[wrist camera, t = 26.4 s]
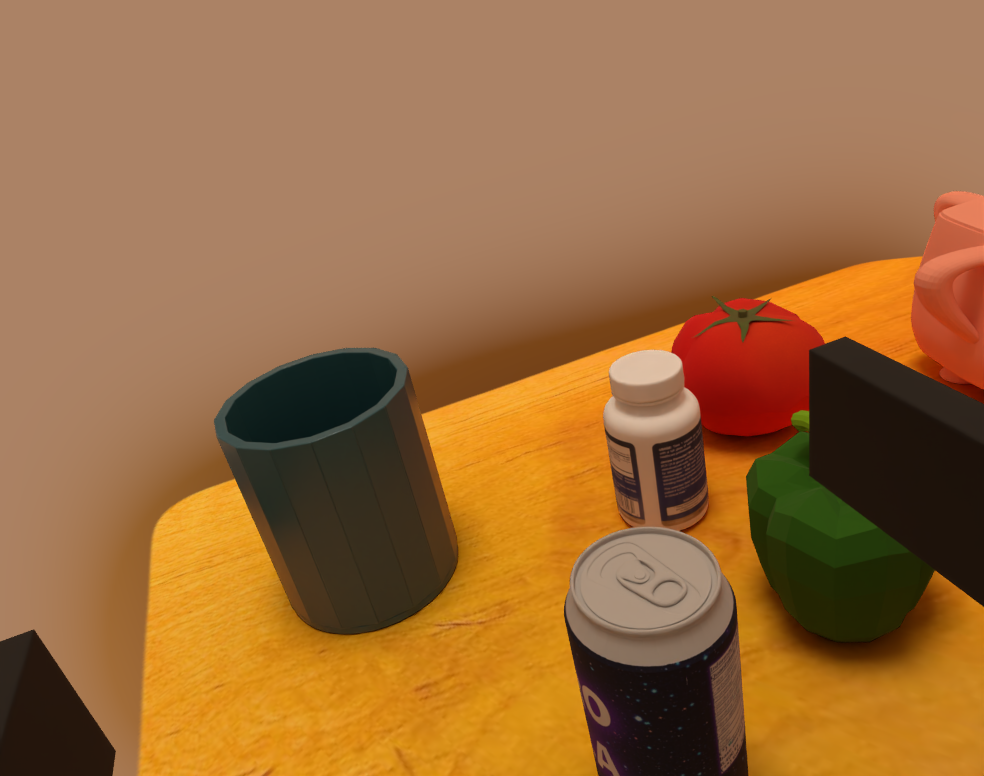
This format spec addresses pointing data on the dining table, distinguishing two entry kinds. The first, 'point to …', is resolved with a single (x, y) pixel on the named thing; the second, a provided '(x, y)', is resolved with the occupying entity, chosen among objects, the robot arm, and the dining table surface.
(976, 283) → the teapot
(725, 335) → the tomato
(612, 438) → the pill bottle
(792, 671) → the dining table surface
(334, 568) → the tin
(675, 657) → the beverage can
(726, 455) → the dining table surface
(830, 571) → the bell pepper
